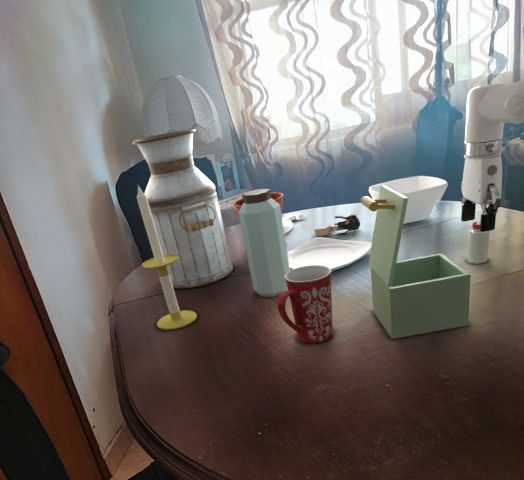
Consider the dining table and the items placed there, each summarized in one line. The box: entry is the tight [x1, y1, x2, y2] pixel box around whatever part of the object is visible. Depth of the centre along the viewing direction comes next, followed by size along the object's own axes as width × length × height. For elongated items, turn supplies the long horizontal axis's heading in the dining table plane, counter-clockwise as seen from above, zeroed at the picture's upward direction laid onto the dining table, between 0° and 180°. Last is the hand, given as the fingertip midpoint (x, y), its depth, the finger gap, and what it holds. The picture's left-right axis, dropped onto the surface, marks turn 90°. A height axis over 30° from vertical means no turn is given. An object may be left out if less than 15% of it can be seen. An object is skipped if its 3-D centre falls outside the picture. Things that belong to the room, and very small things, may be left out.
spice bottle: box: [467, 220, 490, 264], centre depth 112 cm, size 4×4×9 cm
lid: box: [360, 185, 408, 287], centre depth 85 cm, size 15×13×5 cm
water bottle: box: [238, 188, 290, 298], centre depth 114 cm, size 10×10×25 cm
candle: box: [136, 184, 198, 331], centre depth 106 cm, size 10×10×32 cm
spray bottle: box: [282, 213, 305, 235], centre depth 173 cm, size 3×11×24 cm
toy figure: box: [313, 214, 361, 237], centre depth 153 cm, size 7×6×15 cm
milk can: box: [132, 128, 234, 289], centre depth 132 cm, size 24×21×40 cm
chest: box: [370, 253, 472, 340], centre depth 91 cm, size 15×13×10 cm
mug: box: [277, 265, 334, 344], centre depth 91 cm, size 13×9×14 cm
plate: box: [287, 236, 372, 273], centre depth 133 cm, size 24×24×3 cm
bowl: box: [368, 175, 449, 225], centre depth 151 cm, size 22×22×12 cm
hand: (477, 225), depth 110 cm, fingers open, 9 cm apart
